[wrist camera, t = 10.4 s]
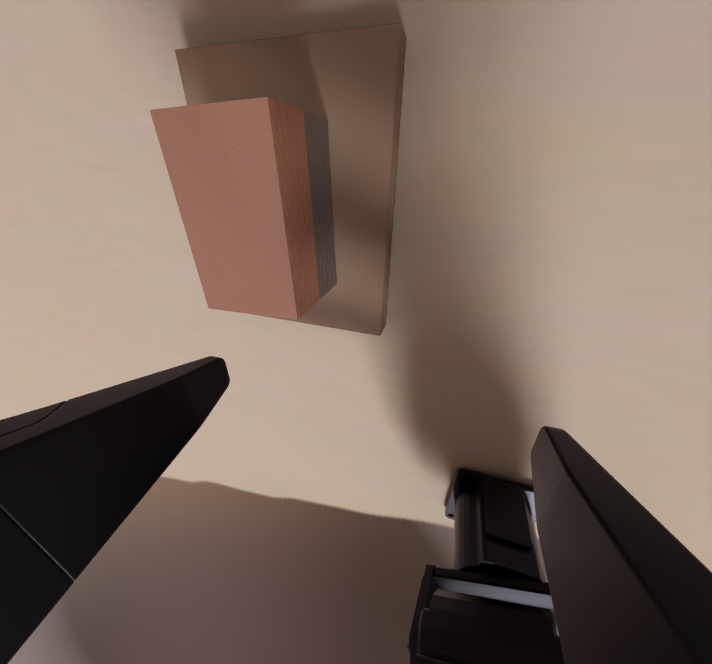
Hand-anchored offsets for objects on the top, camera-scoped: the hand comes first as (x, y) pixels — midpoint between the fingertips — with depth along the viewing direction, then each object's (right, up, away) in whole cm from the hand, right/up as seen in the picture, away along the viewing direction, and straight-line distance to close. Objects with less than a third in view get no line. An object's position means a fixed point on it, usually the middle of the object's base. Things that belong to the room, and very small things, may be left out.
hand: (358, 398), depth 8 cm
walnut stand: (-3, +9, +9) cm, 14 cm away
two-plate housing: (-4, +9, +8) cm, 12 cm away
